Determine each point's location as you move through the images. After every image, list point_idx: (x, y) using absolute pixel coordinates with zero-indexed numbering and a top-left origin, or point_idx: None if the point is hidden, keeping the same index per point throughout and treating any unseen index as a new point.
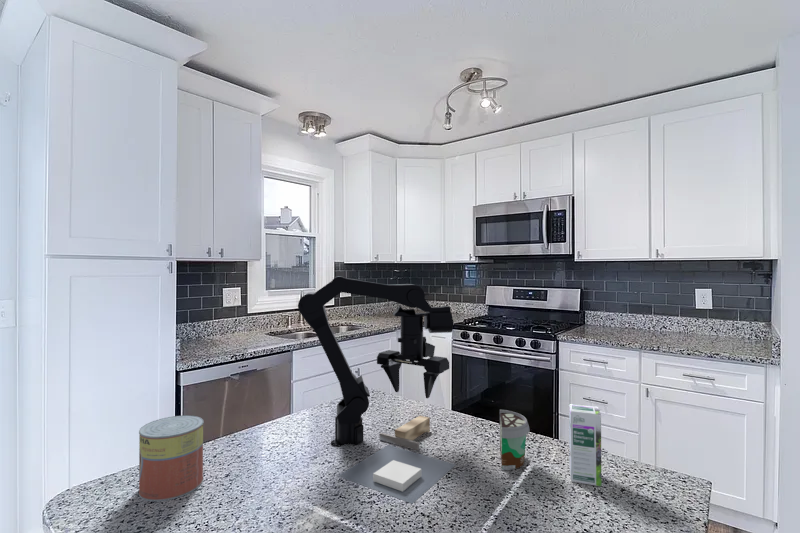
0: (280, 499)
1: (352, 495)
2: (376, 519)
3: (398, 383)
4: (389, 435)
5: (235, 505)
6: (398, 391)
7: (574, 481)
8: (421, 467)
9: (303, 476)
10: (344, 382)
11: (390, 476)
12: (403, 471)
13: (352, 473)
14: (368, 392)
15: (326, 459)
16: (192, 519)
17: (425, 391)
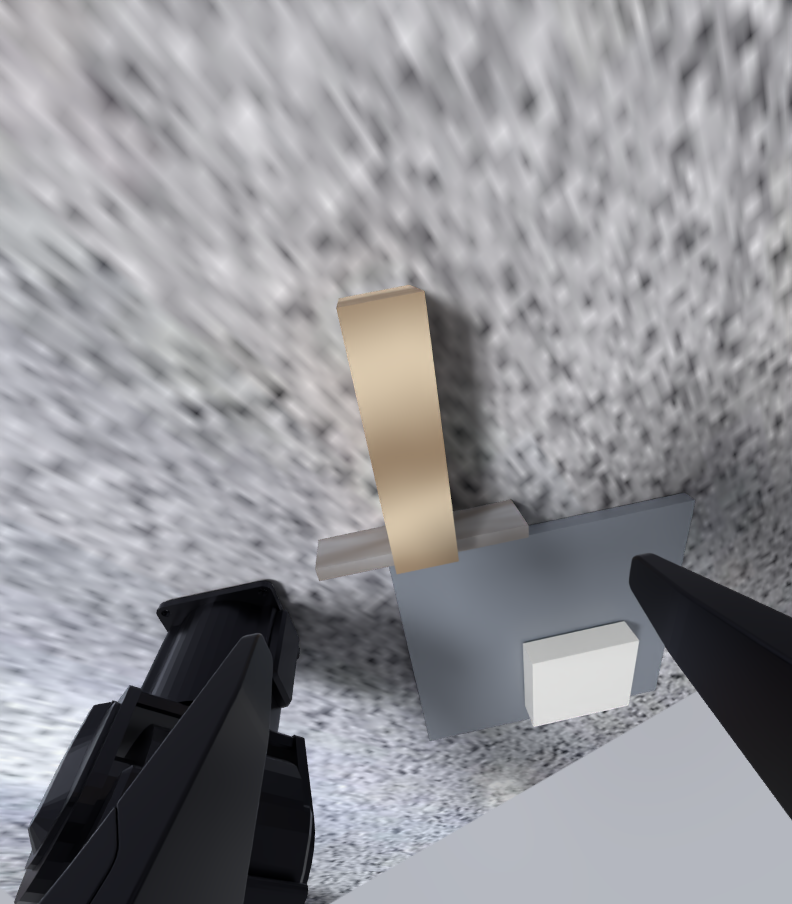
0: (400, 809)
1: (506, 731)
2: (601, 732)
3: (236, 730)
4: (369, 564)
5: (357, 849)
6: (262, 636)
7: None
8: (596, 587)
9: (349, 768)
10: None
11: (582, 708)
12: (598, 676)
13: (449, 717)
14: (248, 899)
15: (304, 712)
16: (347, 882)
17: (694, 673)
